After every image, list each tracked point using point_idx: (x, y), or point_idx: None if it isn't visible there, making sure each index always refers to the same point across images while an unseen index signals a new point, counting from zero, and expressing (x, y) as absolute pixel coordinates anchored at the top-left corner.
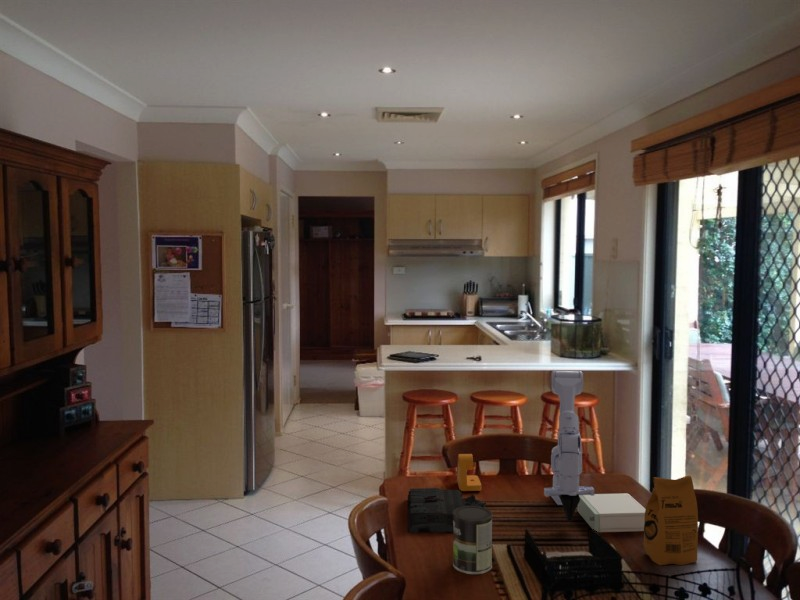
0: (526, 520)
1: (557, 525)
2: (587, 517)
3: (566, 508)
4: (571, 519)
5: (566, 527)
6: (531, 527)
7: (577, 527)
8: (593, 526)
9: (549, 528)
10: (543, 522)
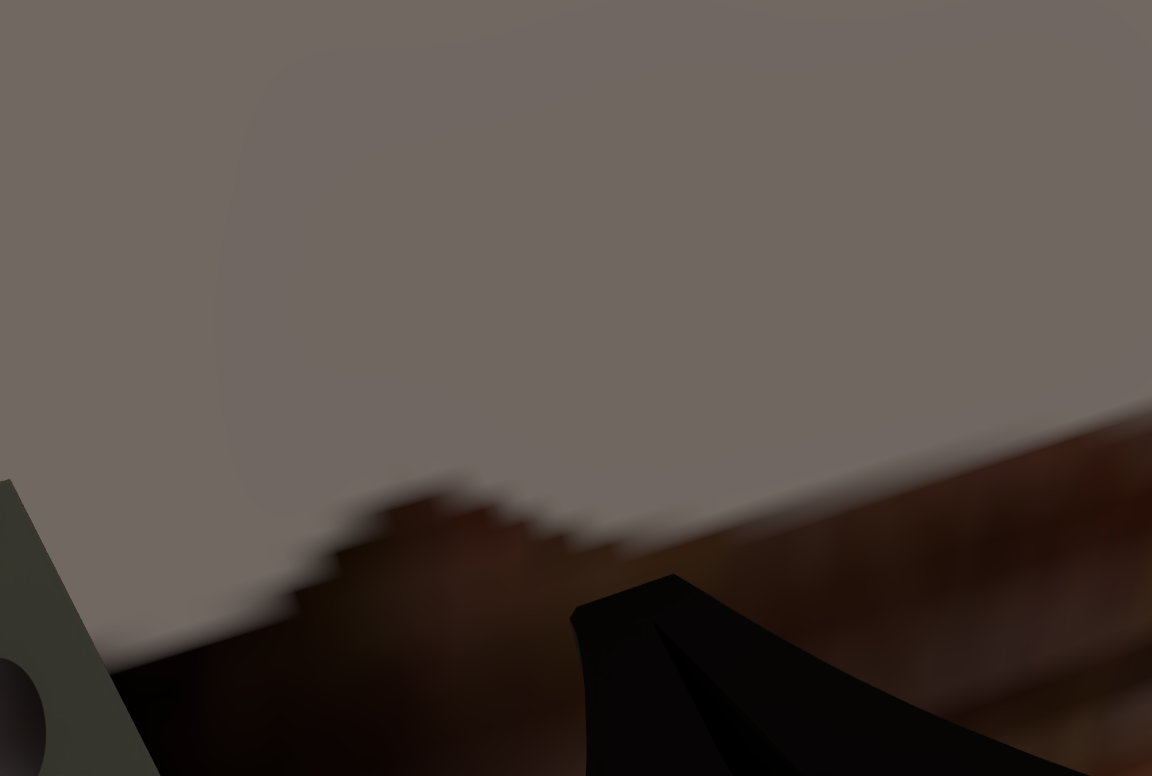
0: (1130, 673)
1: None
2: None
3: (989, 749)
4: (598, 609)
5: None
6: (1130, 453)
7: (414, 653)
8: (13, 619)
9: (892, 481)
10: (935, 679)
